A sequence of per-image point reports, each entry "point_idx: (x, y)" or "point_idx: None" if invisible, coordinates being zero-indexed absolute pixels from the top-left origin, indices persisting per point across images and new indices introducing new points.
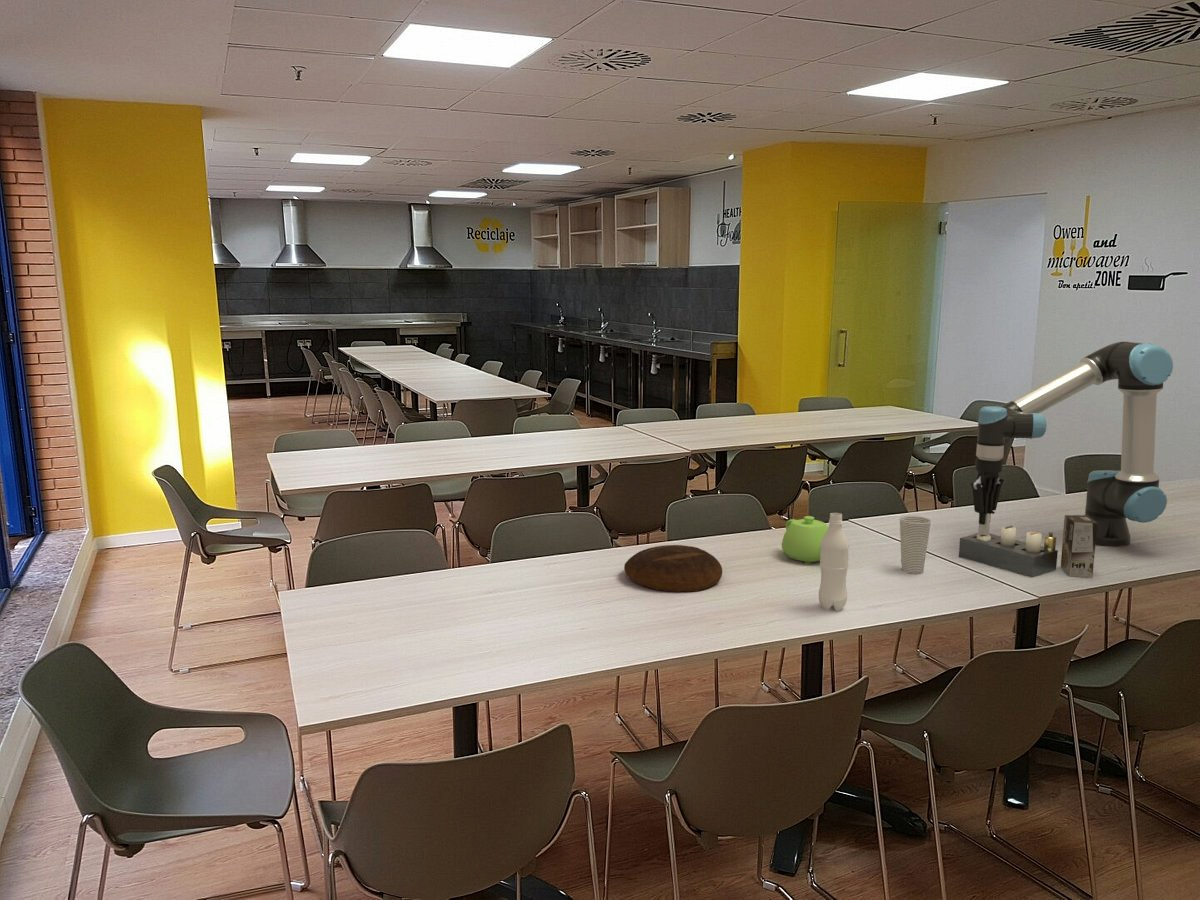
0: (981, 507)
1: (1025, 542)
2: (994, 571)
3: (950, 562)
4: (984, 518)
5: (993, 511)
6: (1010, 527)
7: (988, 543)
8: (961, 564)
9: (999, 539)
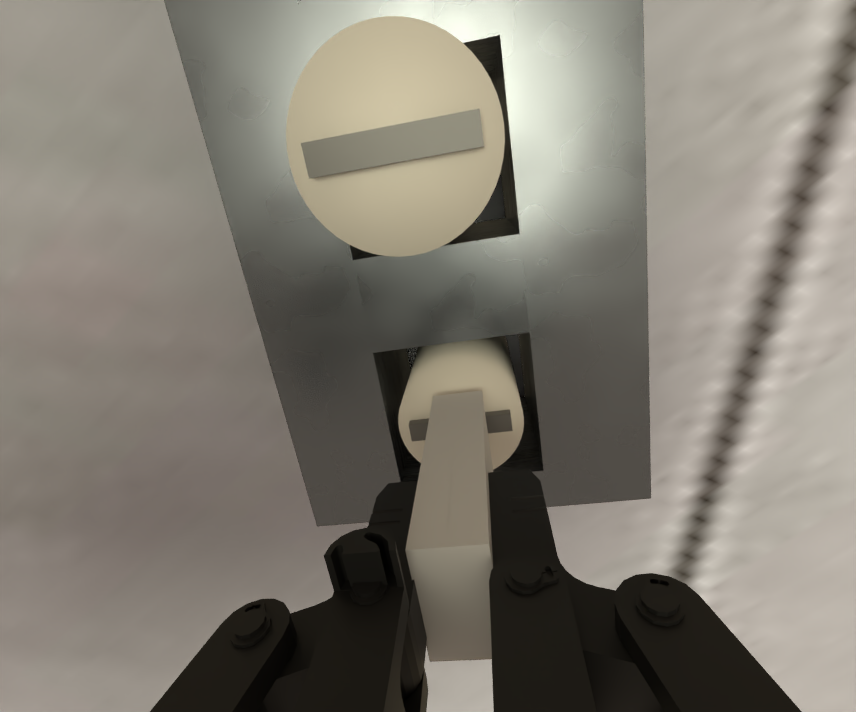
0: (772, 696)
1: (207, 113)
2: (697, 32)
3: (768, 355)
4: (515, 522)
5: (334, 573)
6: (372, 130)
7: (585, 257)
8: (747, 288)
9: (370, 313)
